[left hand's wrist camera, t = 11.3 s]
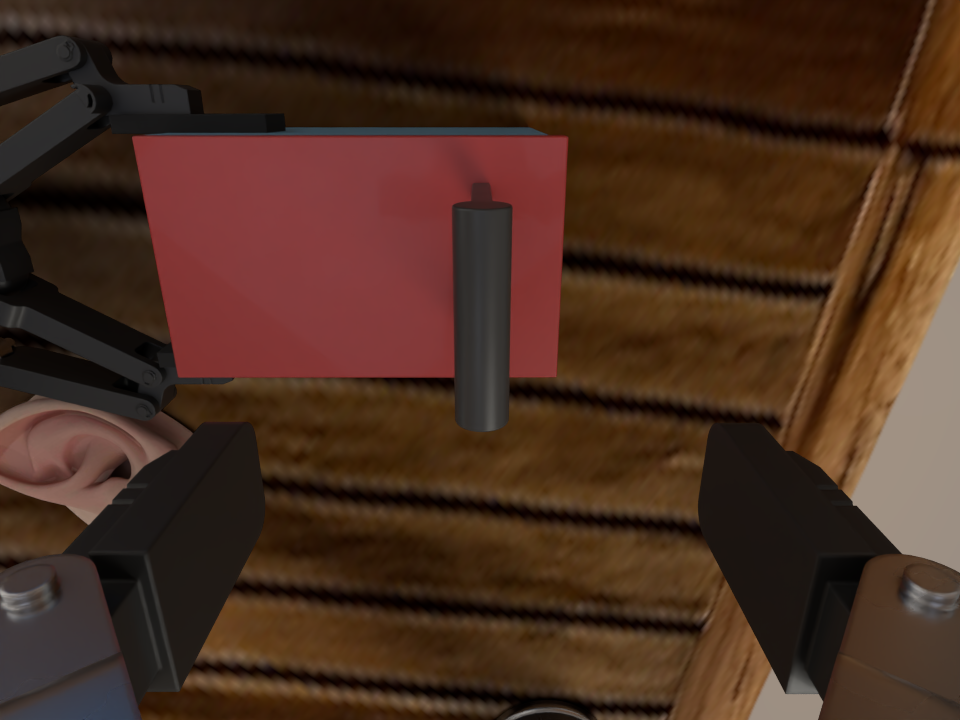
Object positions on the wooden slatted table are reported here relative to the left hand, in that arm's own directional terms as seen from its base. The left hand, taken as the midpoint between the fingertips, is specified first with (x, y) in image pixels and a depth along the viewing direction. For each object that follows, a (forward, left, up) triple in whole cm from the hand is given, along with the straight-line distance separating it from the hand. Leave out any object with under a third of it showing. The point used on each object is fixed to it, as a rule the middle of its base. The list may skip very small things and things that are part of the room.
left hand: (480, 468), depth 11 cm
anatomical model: (-20, +19, -26) cm, 38 cm away
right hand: (-2, +9, -20) cm, 22 cm away
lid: (-1, +5, -16) cm, 17 cm away
